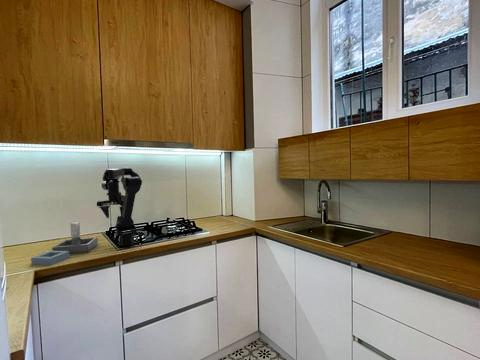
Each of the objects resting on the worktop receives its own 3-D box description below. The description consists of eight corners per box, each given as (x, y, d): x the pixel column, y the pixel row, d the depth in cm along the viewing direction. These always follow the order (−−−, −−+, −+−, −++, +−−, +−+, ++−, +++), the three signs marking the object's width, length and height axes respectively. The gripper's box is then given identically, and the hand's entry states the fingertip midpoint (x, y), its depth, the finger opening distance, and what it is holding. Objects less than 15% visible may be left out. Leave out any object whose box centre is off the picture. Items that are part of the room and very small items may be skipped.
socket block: (69, 257, 125) (69, 251, 125) (51, 265, 115) (50, 258, 115) (51, 256, 127) (50, 250, 126) (31, 264, 117) (31, 257, 117)
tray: (98, 244, 145) (97, 237, 145) (88, 252, 131) (88, 244, 131) (65, 247, 142) (65, 239, 142) (52, 255, 128) (52, 247, 128)
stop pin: (82, 247, 137) (80, 222, 136) (73, 249, 134) (72, 224, 133) (79, 246, 139) (77, 221, 139) (70, 248, 136) (68, 223, 136)
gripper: (136, 189, 156) (138, 215, 157) (108, 189, 159) (109, 215, 160) (125, 191, 145) (127, 219, 146) (95, 191, 148) (96, 219, 149)
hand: (115, 218), depth 151 cm, fingers open, 9 cm apart
